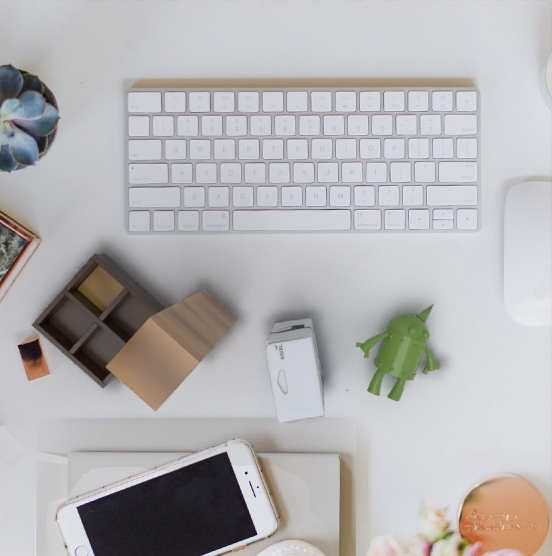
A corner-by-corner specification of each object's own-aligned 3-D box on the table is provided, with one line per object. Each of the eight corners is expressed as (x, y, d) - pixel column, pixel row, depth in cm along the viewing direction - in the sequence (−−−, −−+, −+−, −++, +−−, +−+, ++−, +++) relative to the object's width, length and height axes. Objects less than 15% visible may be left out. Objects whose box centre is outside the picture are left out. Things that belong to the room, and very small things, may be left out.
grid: (112, 381, 69) (102, 388, 65) (43, 320, 68) (30, 325, 65) (172, 313, 68) (165, 318, 65) (104, 252, 68) (93, 253, 65)
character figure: (351, 395, 61) (390, 290, 61) (332, 377, 66) (367, 280, 65) (436, 414, 66) (472, 317, 65) (412, 396, 70) (445, 305, 70)
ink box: (325, 386, 68) (326, 418, 56) (284, 392, 68) (277, 426, 57) (313, 316, 68) (312, 334, 56) (272, 322, 68) (263, 342, 56)
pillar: (207, 353, 68) (155, 412, 46) (173, 322, 68) (104, 367, 46) (237, 319, 68) (200, 362, 46) (203, 288, 68) (149, 316, 46)
